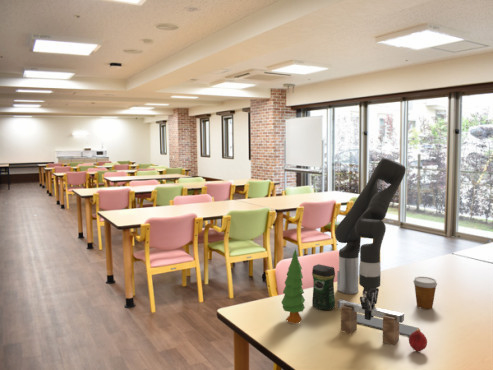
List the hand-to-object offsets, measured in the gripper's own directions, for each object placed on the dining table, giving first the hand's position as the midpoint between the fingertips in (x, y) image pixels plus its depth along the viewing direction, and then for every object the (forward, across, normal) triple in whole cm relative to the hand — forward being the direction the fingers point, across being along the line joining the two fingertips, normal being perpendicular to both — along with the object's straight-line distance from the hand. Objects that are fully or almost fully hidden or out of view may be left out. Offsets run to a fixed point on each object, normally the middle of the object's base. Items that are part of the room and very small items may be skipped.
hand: (369, 317), depth 153 cm
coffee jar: (+7, -15, -26) cm, 31 cm away
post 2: (+6, 0, +8) cm, 10 cm away
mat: (+6, -11, 0) cm, 13 cm away
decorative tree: (+7, +5, -30) cm, 31 cm away
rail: (-2, 0, 0) cm, 2 cm away
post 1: (+6, 0, -8) cm, 10 cm away
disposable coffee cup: (+7, -40, +10) cm, 42 cm away
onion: (+7, +3, +18) cm, 20 cm away
